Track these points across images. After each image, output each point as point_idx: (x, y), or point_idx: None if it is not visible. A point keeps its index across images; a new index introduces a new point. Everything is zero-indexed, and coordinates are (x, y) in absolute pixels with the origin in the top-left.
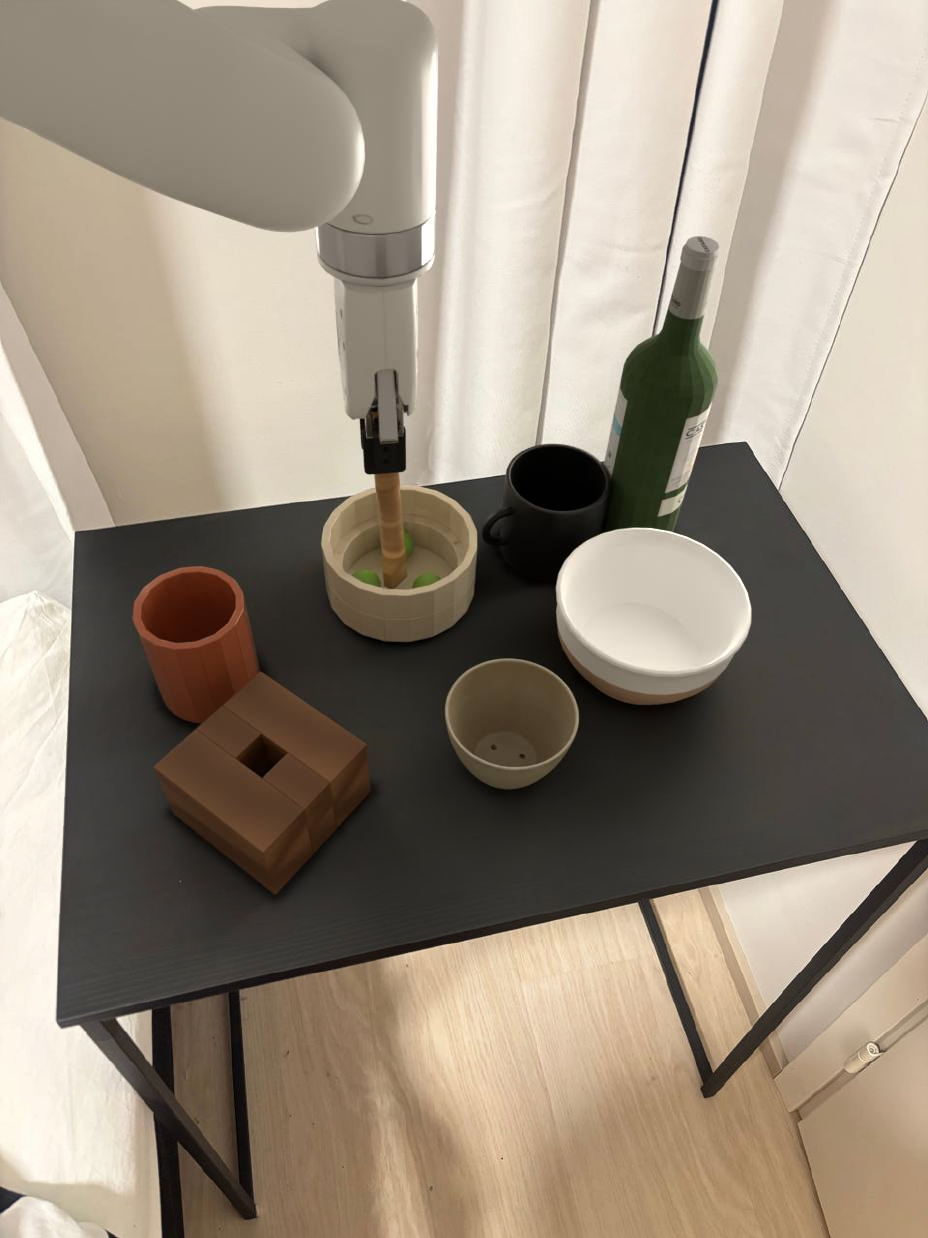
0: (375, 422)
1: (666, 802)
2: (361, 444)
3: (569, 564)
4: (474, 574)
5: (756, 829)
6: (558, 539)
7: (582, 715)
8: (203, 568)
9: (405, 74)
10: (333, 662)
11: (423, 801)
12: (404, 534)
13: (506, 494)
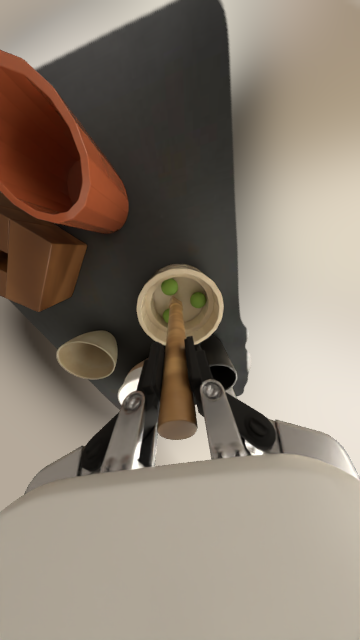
0: (84, 467)
1: None
2: (187, 339)
3: None
4: None
5: (106, 389)
6: None
7: (130, 358)
8: (85, 160)
9: None
10: (131, 272)
11: (77, 315)
12: (199, 306)
13: (208, 359)
